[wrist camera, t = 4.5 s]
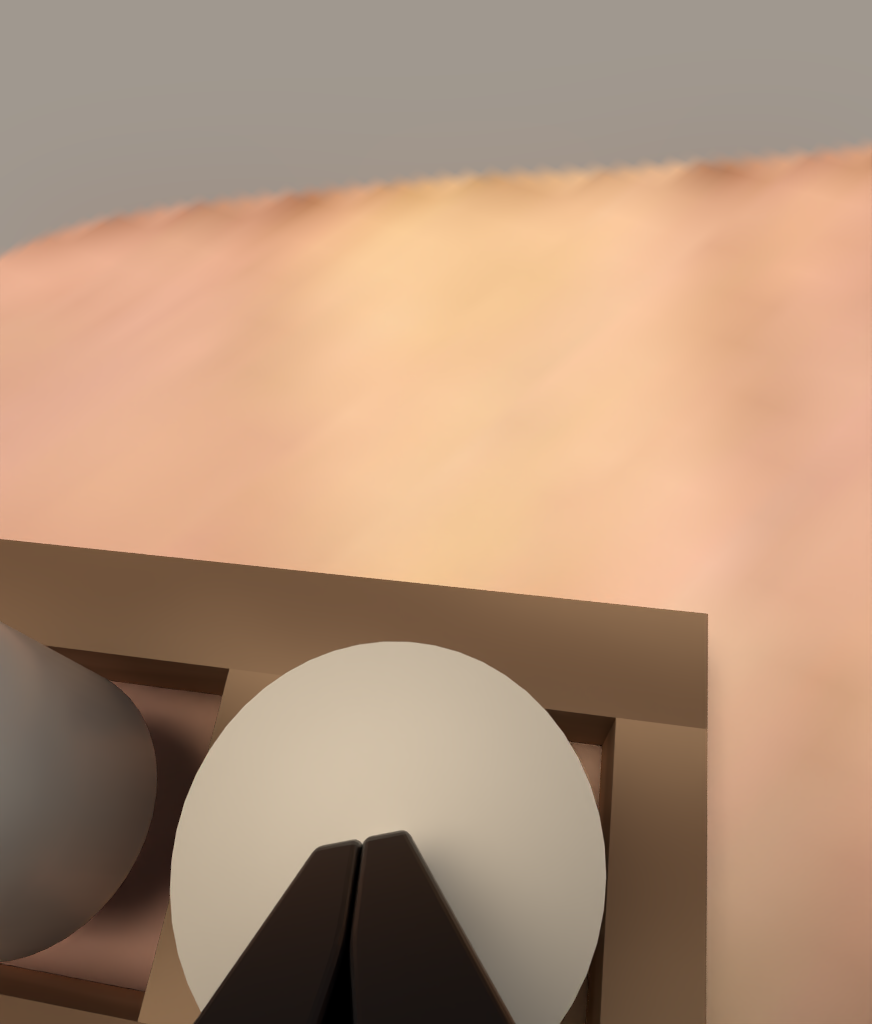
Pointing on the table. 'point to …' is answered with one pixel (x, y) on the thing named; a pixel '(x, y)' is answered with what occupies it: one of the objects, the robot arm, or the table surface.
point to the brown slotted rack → (427, 620)
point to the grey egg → (65, 793)
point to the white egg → (399, 813)
